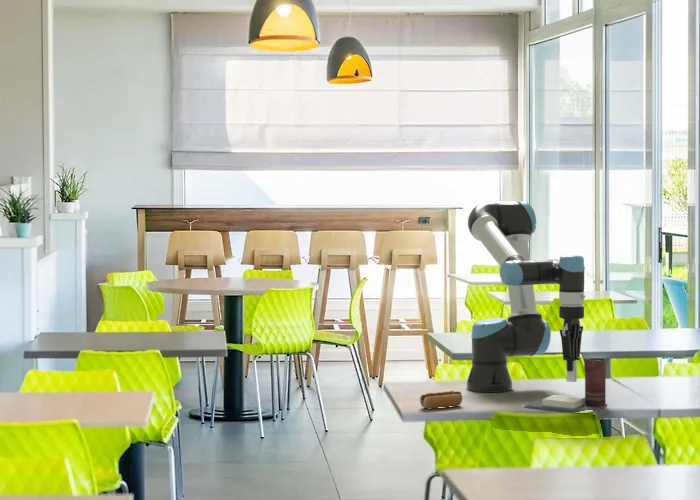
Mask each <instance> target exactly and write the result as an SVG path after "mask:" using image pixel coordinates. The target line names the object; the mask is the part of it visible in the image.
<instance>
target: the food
mask: <svg viewBox="0 0 700 500" xmlns="http://www.w3.org/2000/svg"><path fill="white" fill-rule="evenodd" d="M419 402H420V405H421V407H422V408H423V407H424V408H438V407H449V406H456V407H458V406H457V405H459V406H461V404H462V402H463V395H462V392H461V391H454V390H450V391H438V392H429V393H427V392H426V394H421V396H420V397H419ZM424 408H423V409H424Z"/></svg>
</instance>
